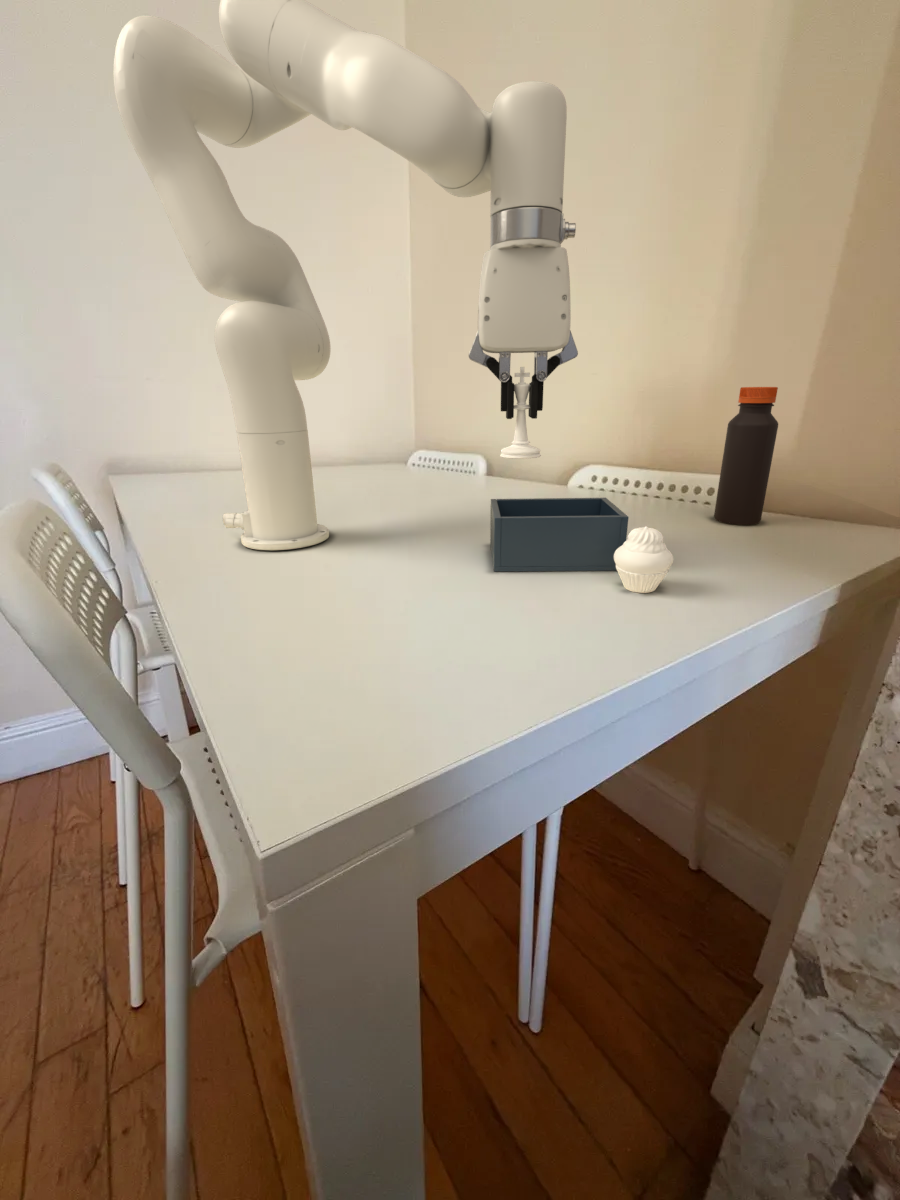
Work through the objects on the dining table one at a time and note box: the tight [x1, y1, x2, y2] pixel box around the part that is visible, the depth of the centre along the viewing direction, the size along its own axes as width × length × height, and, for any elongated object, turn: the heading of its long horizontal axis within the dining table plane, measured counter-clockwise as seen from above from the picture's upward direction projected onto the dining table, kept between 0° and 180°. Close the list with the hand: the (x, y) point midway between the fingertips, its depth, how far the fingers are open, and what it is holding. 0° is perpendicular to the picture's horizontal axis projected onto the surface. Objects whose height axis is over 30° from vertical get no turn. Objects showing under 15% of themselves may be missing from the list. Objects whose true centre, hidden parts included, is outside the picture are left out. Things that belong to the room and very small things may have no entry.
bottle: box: [713, 386, 779, 526], centre depth 87 cm, size 7×7×20 cm
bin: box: [489, 497, 630, 572], centre depth 73 cm, size 16×12×7 cm
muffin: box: [614, 525, 674, 594], centre depth 61 cm, size 6×6×7 cm
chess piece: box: [499, 366, 542, 460], centre depth 67 cm, size 5×5×10 cm
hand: (521, 416), depth 67 cm, fingers closed on chess piece
